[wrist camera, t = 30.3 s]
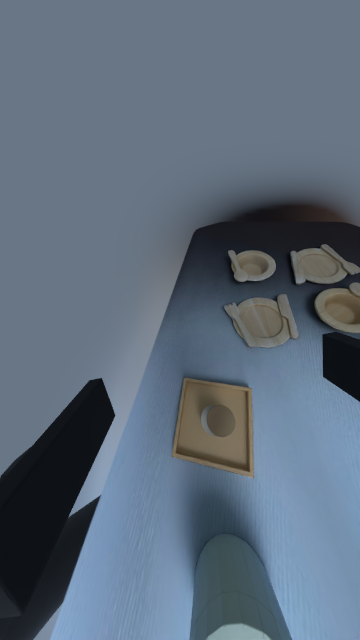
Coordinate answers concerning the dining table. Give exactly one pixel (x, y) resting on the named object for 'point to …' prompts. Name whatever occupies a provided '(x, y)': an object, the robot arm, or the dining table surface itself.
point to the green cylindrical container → (234, 595)
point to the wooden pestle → (218, 421)
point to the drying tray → (209, 449)
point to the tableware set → (276, 317)
